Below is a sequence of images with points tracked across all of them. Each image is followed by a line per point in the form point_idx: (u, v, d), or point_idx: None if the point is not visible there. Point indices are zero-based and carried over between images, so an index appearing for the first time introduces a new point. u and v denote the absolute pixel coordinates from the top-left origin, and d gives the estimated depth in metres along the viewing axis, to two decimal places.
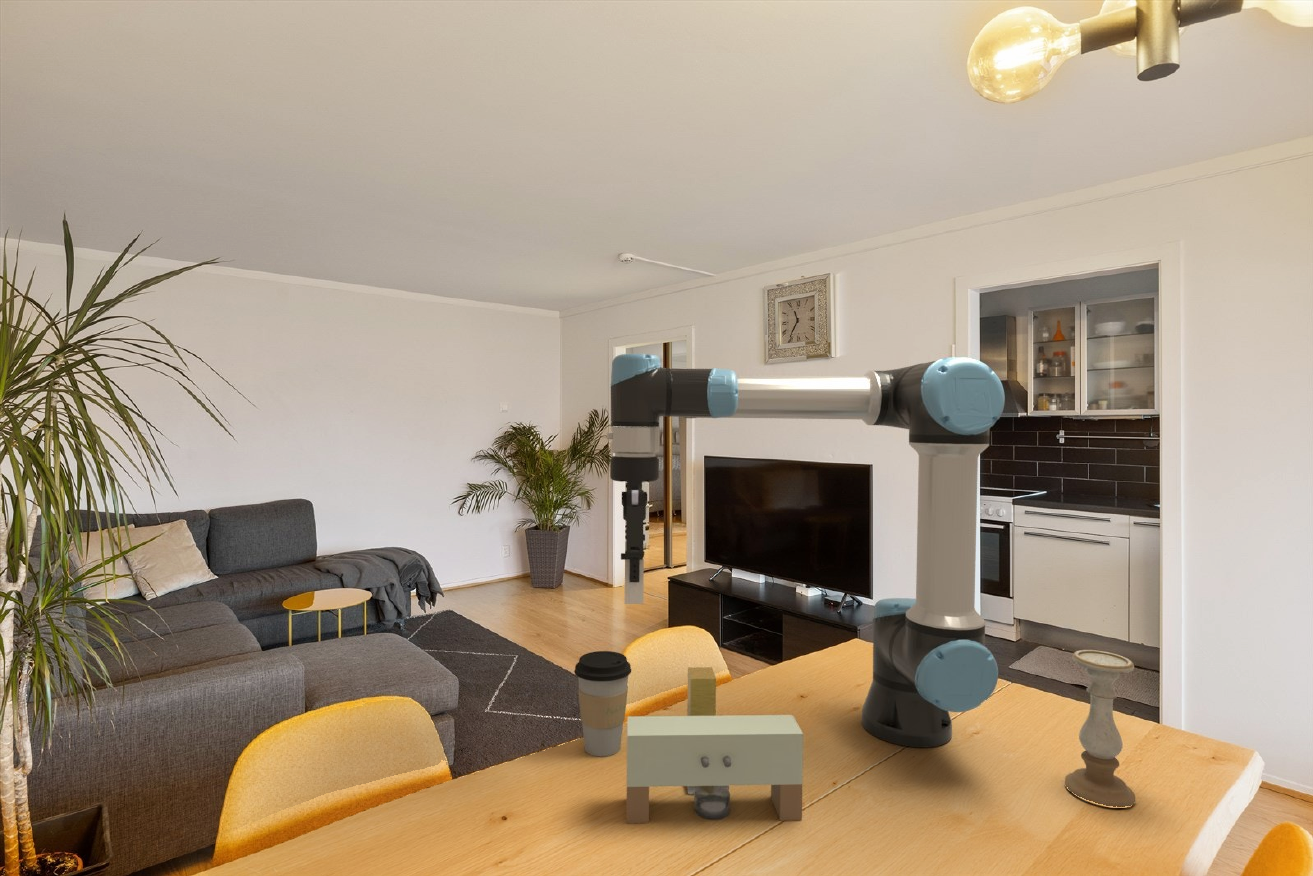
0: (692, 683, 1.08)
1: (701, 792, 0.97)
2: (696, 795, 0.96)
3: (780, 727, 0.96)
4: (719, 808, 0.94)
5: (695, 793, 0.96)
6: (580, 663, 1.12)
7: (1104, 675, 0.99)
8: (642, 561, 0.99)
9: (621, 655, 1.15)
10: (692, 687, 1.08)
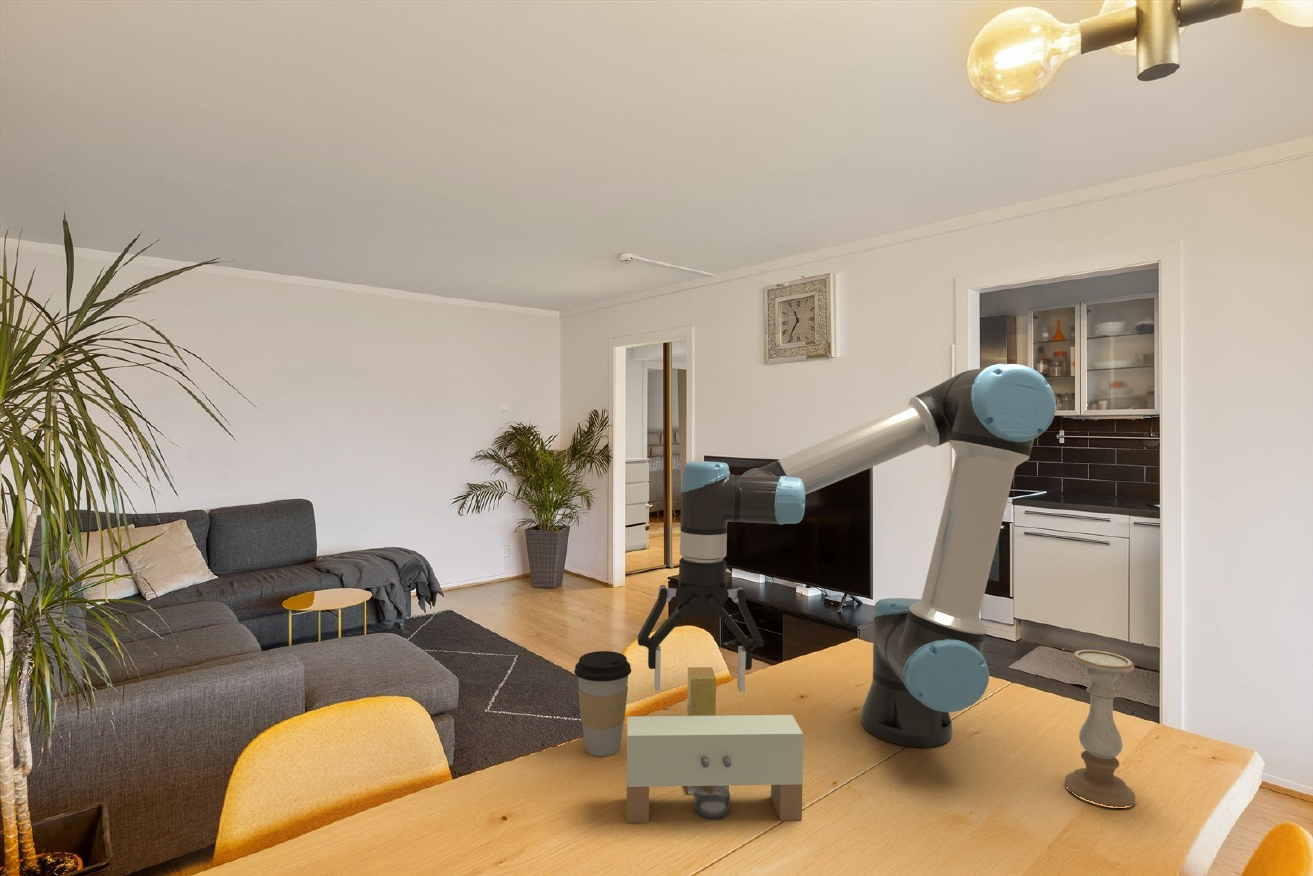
0: (692, 683, 1.08)
1: (701, 792, 0.97)
2: (696, 795, 0.96)
3: (780, 727, 0.96)
4: (719, 808, 0.94)
5: (695, 793, 0.96)
6: (580, 663, 1.12)
7: (1104, 675, 0.99)
8: (656, 652, 1.09)
9: (621, 655, 1.15)
10: (692, 687, 1.08)
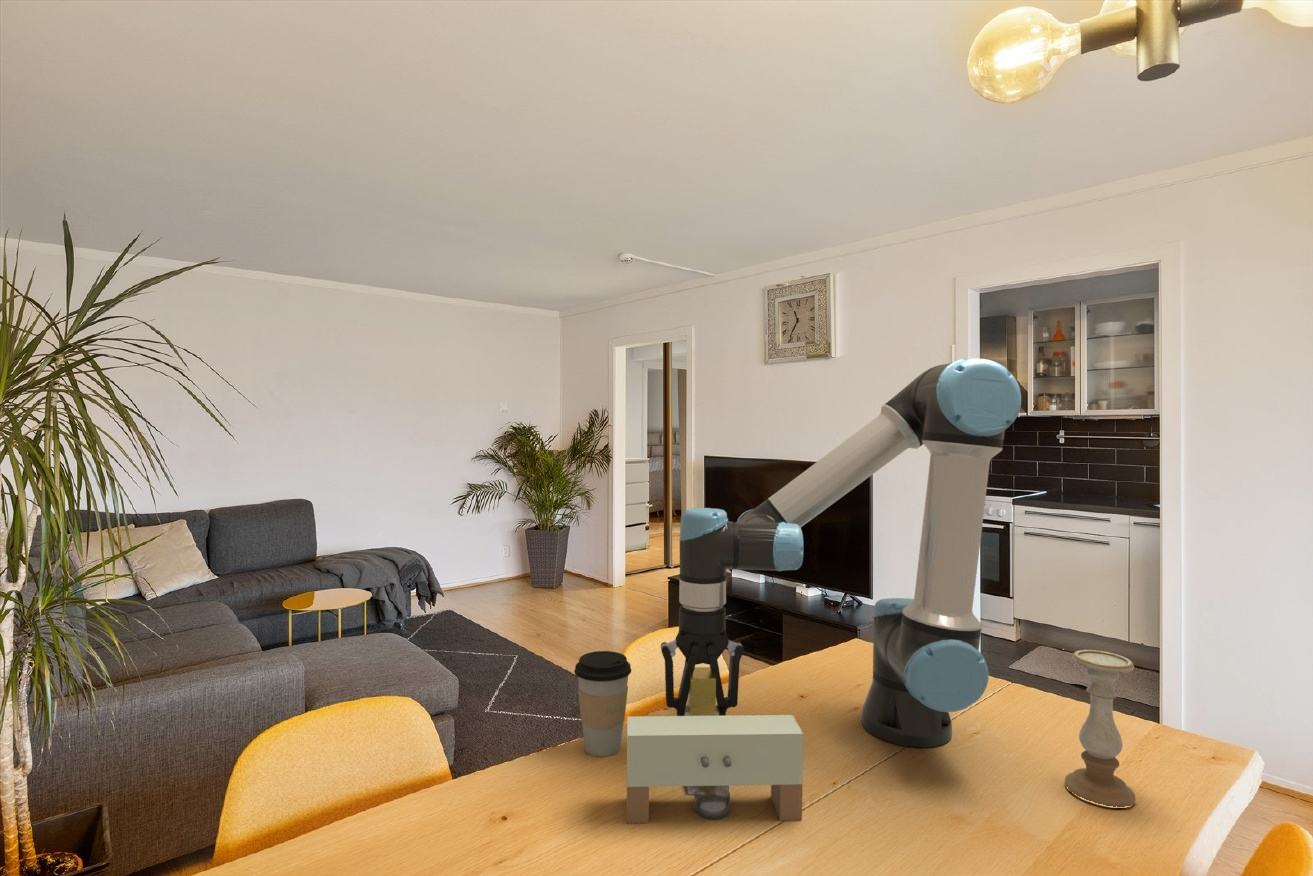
0: (692, 683, 1.08)
1: (701, 792, 0.97)
2: (696, 795, 0.96)
3: (780, 727, 0.96)
4: (719, 808, 0.94)
5: (695, 793, 0.96)
6: (580, 663, 1.12)
7: (1104, 675, 0.99)
8: (684, 714, 1.09)
9: (621, 655, 1.15)
10: (692, 687, 1.08)
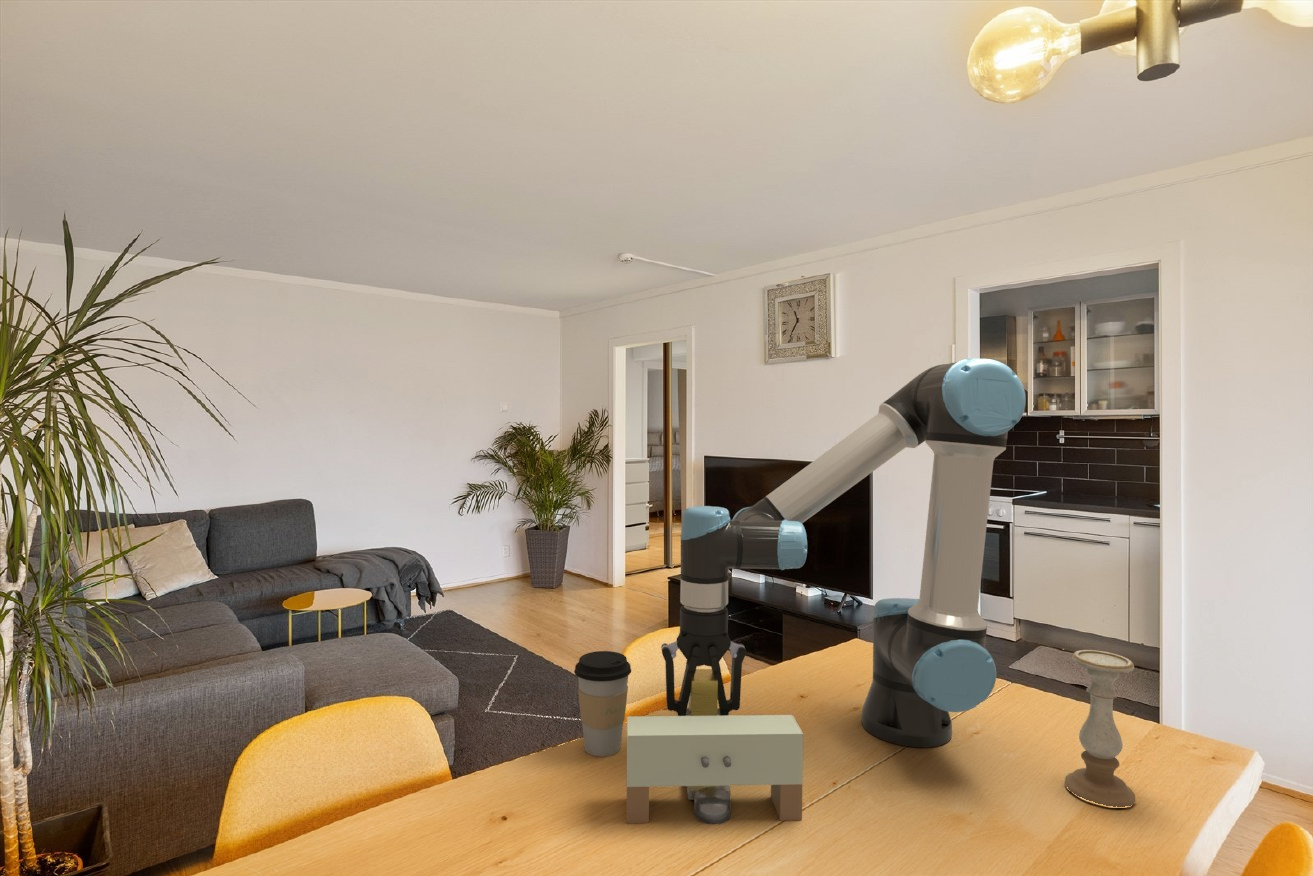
0: (693, 685, 1.05)
1: (701, 795, 0.96)
2: (696, 798, 0.95)
3: (780, 727, 0.96)
4: (719, 811, 0.93)
5: (695, 796, 0.95)
6: (580, 663, 1.12)
7: (1104, 675, 0.99)
8: None
9: (621, 655, 1.15)
10: (693, 689, 1.05)
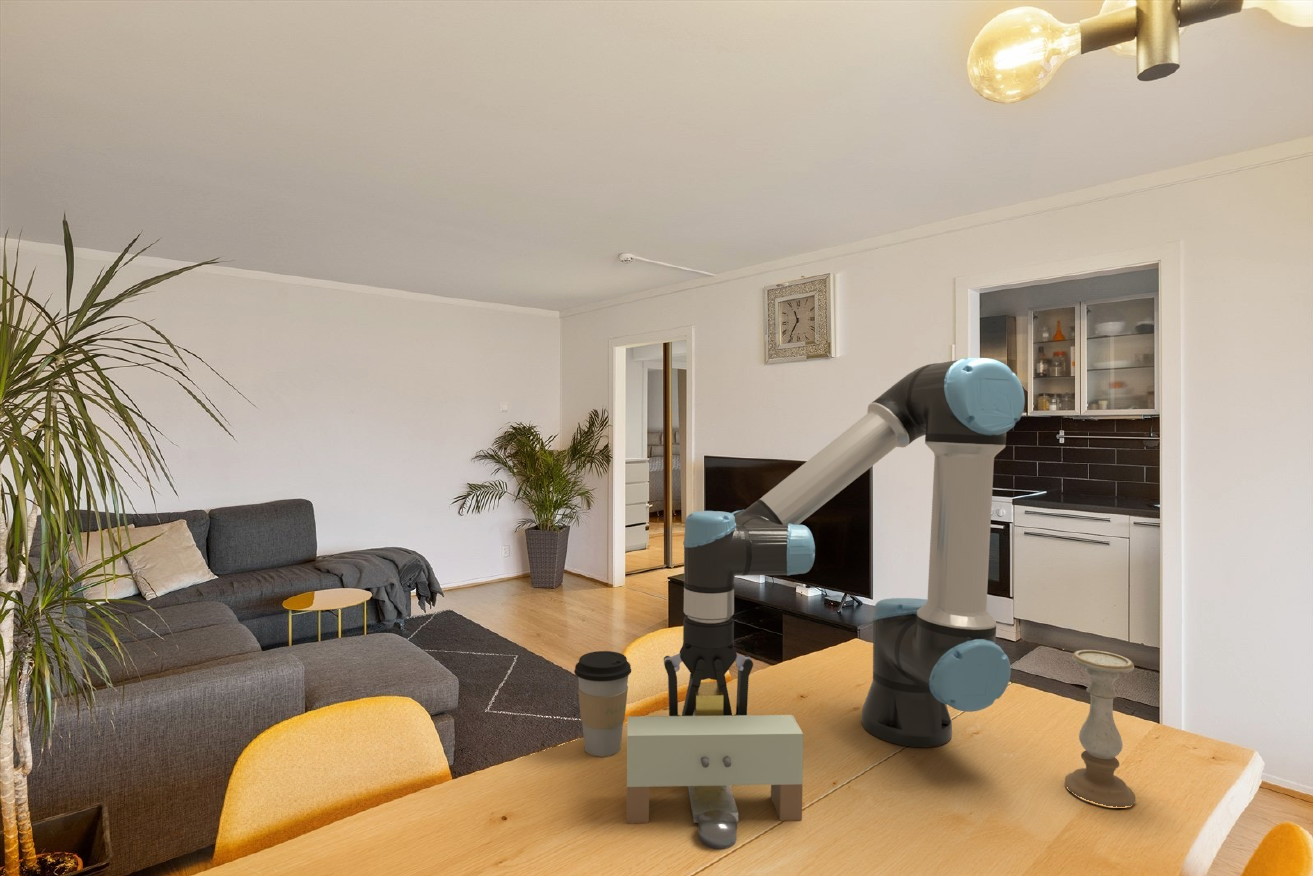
0: (698, 700, 1.00)
1: (706, 818, 0.90)
2: (700, 821, 0.90)
3: (780, 727, 0.96)
4: (724, 837, 0.87)
5: (699, 819, 0.90)
6: (580, 663, 1.12)
7: (1104, 675, 0.99)
8: None
9: (621, 655, 1.15)
10: (698, 704, 1.00)
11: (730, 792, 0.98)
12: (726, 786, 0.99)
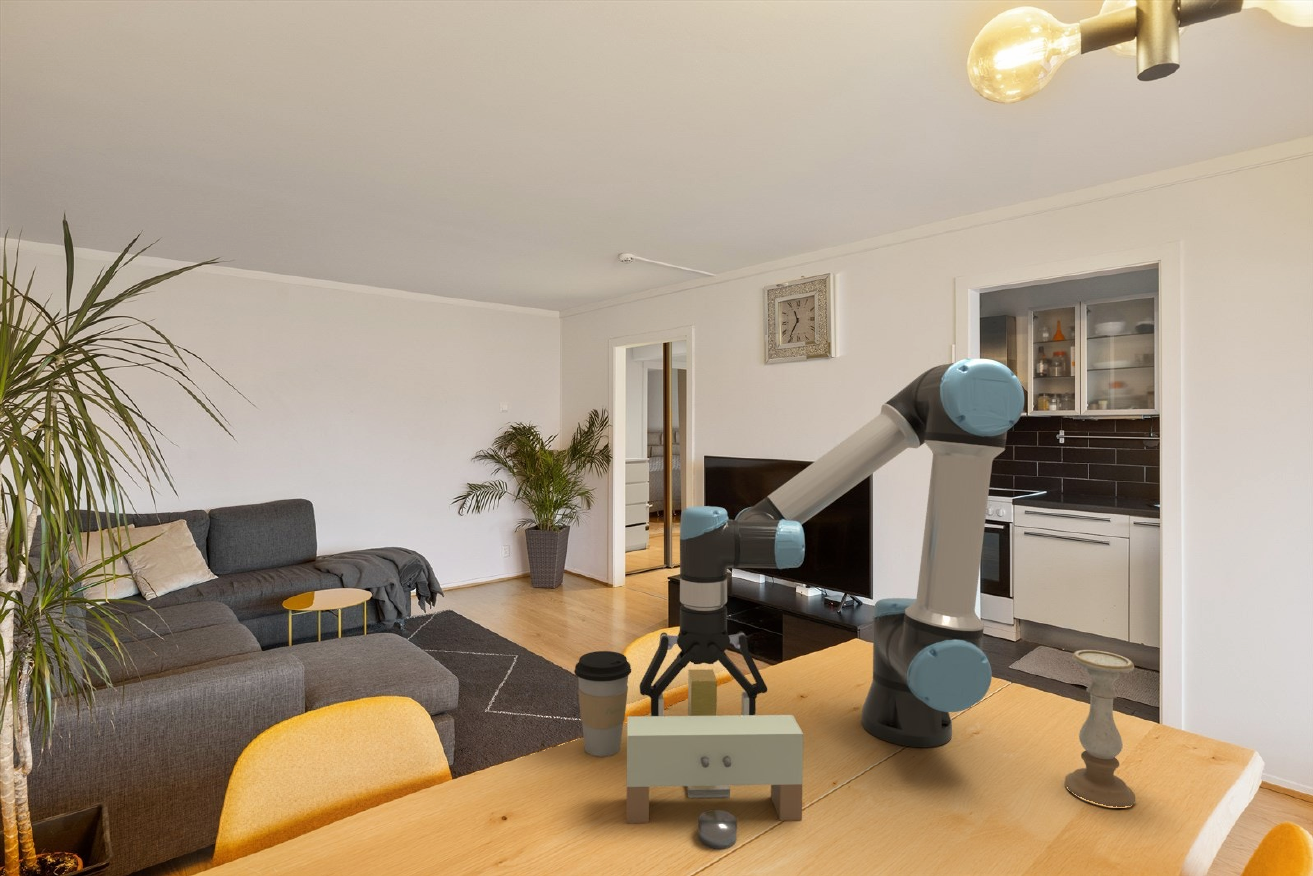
0: (693, 685, 1.07)
1: (706, 818, 0.90)
2: (700, 821, 0.90)
3: (780, 727, 0.96)
4: (723, 837, 0.87)
5: (699, 819, 0.90)
6: (580, 663, 1.12)
7: (1104, 675, 0.99)
8: (658, 701, 1.08)
9: (621, 655, 1.15)
10: (693, 689, 1.07)
11: None
12: None
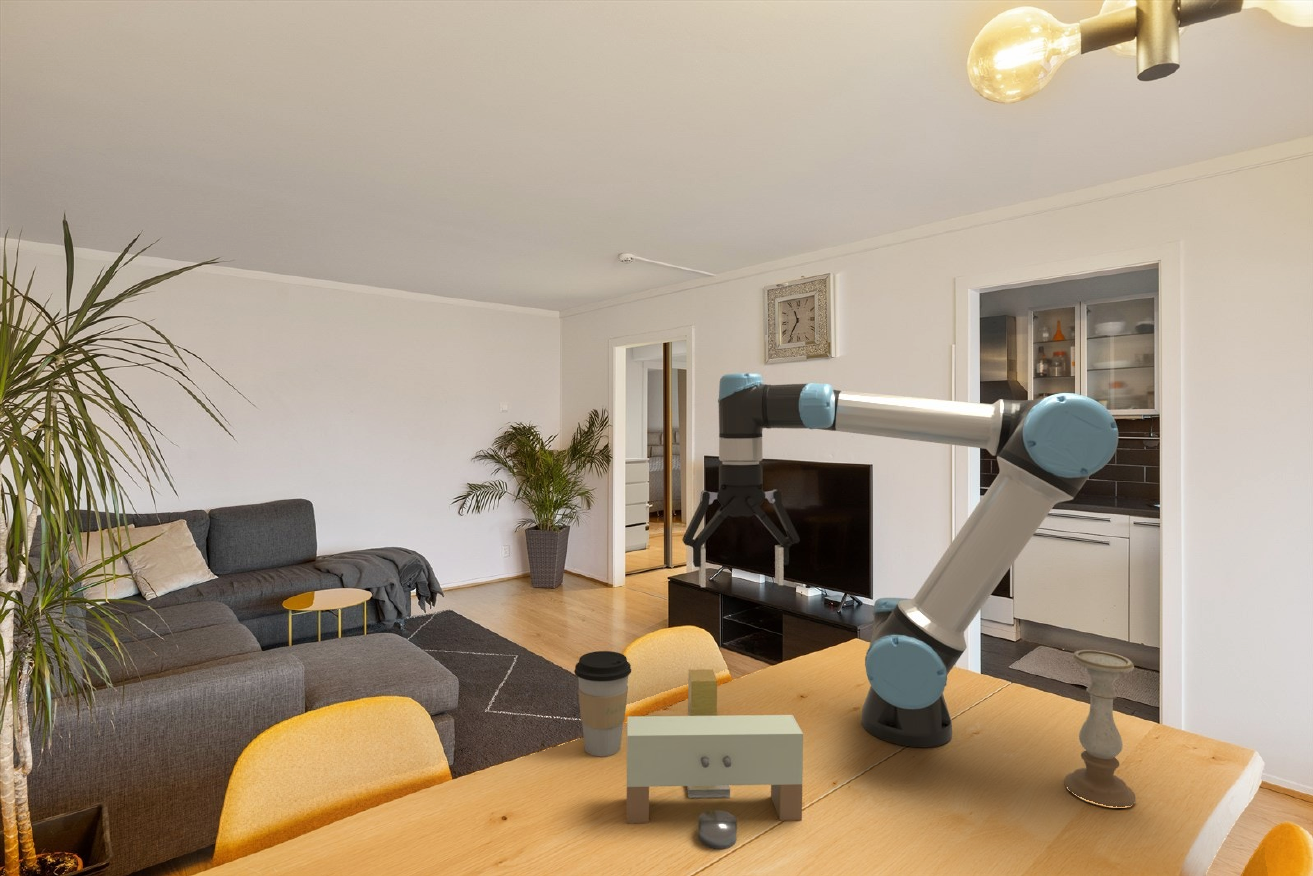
0: (693, 685, 1.07)
1: (706, 818, 0.90)
2: (700, 821, 0.90)
3: (780, 727, 0.96)
4: (723, 837, 0.87)
5: (699, 819, 0.90)
6: (580, 663, 1.12)
7: (1104, 675, 0.99)
8: (701, 551, 1.18)
9: (621, 655, 1.15)
10: (693, 689, 1.07)
11: None
12: None
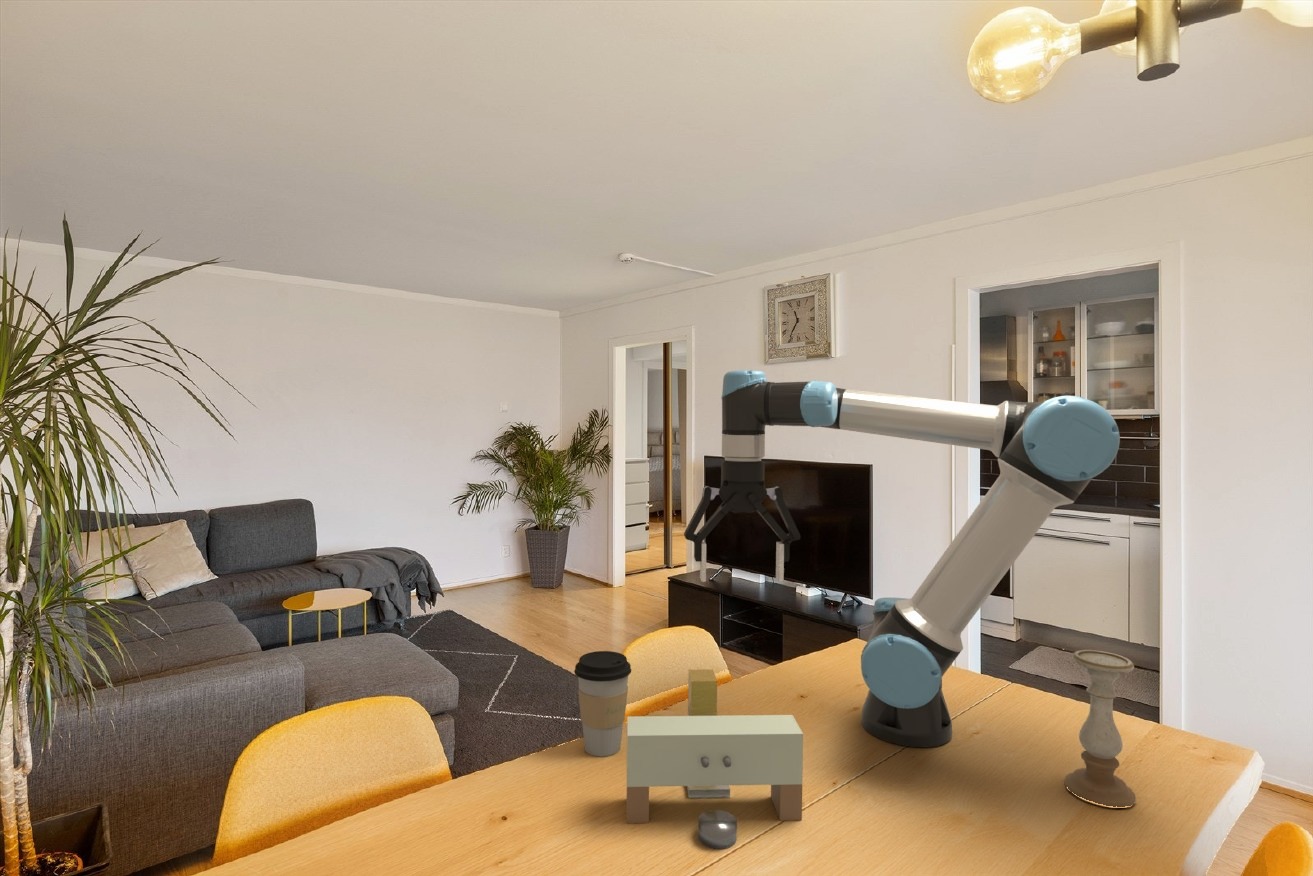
0: (693, 685, 1.07)
1: (706, 818, 0.90)
2: (700, 821, 0.90)
3: (780, 727, 0.96)
4: (723, 837, 0.87)
5: (699, 819, 0.90)
6: (580, 663, 1.12)
7: (1104, 675, 0.99)
8: (701, 546, 1.19)
9: (621, 655, 1.15)
10: (693, 689, 1.07)
11: None
12: None
